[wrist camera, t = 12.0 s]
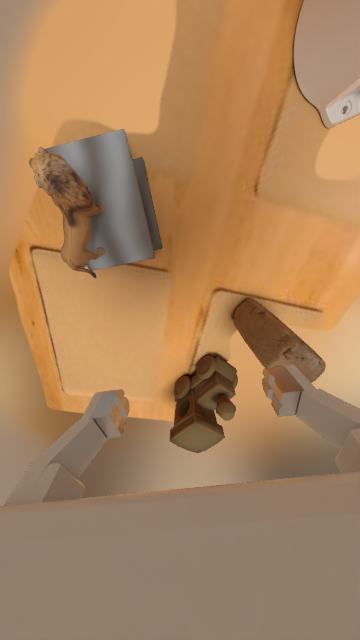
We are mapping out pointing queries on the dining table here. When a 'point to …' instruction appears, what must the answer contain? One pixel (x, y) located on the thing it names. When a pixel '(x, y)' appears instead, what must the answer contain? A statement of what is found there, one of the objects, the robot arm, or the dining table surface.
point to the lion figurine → (68, 206)
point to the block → (275, 341)
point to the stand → (115, 199)
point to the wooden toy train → (203, 404)
